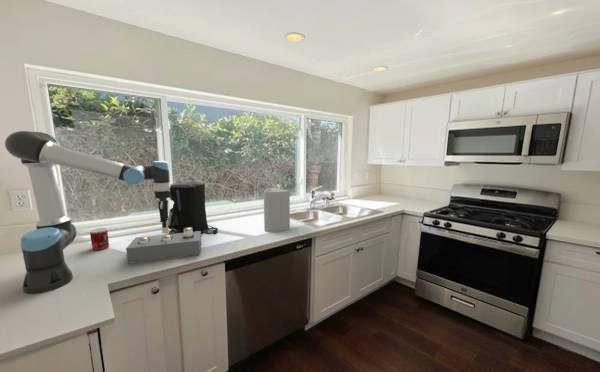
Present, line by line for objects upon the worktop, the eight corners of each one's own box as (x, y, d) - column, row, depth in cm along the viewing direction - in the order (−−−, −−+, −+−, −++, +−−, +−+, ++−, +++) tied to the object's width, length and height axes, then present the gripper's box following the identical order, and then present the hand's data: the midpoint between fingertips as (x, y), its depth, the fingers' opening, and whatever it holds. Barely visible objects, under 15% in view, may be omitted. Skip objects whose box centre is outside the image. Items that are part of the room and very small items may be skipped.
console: (200, 254, 137) (199, 240, 135) (127, 263, 126) (126, 248, 125) (201, 243, 152) (200, 230, 150) (137, 250, 141) (135, 237, 140)
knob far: (192, 241, 140) (191, 228, 139) (184, 242, 139) (183, 229, 137) (193, 239, 144) (192, 226, 143) (185, 240, 143) (184, 227, 142)
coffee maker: (175, 226, 183) (171, 181, 178) (221, 224, 188) (218, 180, 183) (164, 237, 161) (159, 186, 155) (216, 235, 166) (213, 185, 161)
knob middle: (171, 249, 137) (170, 236, 136) (162, 250, 136) (161, 237, 135) (172, 246, 141) (171, 233, 140) (164, 247, 140) (162, 234, 139)
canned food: (100, 251, 140) (97, 232, 138) (88, 250, 142) (86, 231, 140) (112, 246, 148) (110, 228, 146) (101, 245, 149) (99, 227, 147)
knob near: (148, 252, 134) (147, 238, 132) (139, 253, 132) (137, 239, 131) (150, 249, 138) (149, 236, 137) (141, 250, 136) (140, 236, 135)
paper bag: (256, 228, 179) (255, 190, 174) (271, 223, 190) (271, 187, 185) (275, 234, 167) (274, 193, 162) (290, 229, 178) (290, 190, 173)
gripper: (168, 192, 128) (171, 235, 132) (172, 187, 140) (174, 228, 144) (151, 192, 126) (155, 237, 130) (157, 188, 138) (160, 229, 142)
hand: (165, 232), depth 137 cm, fingers closed
